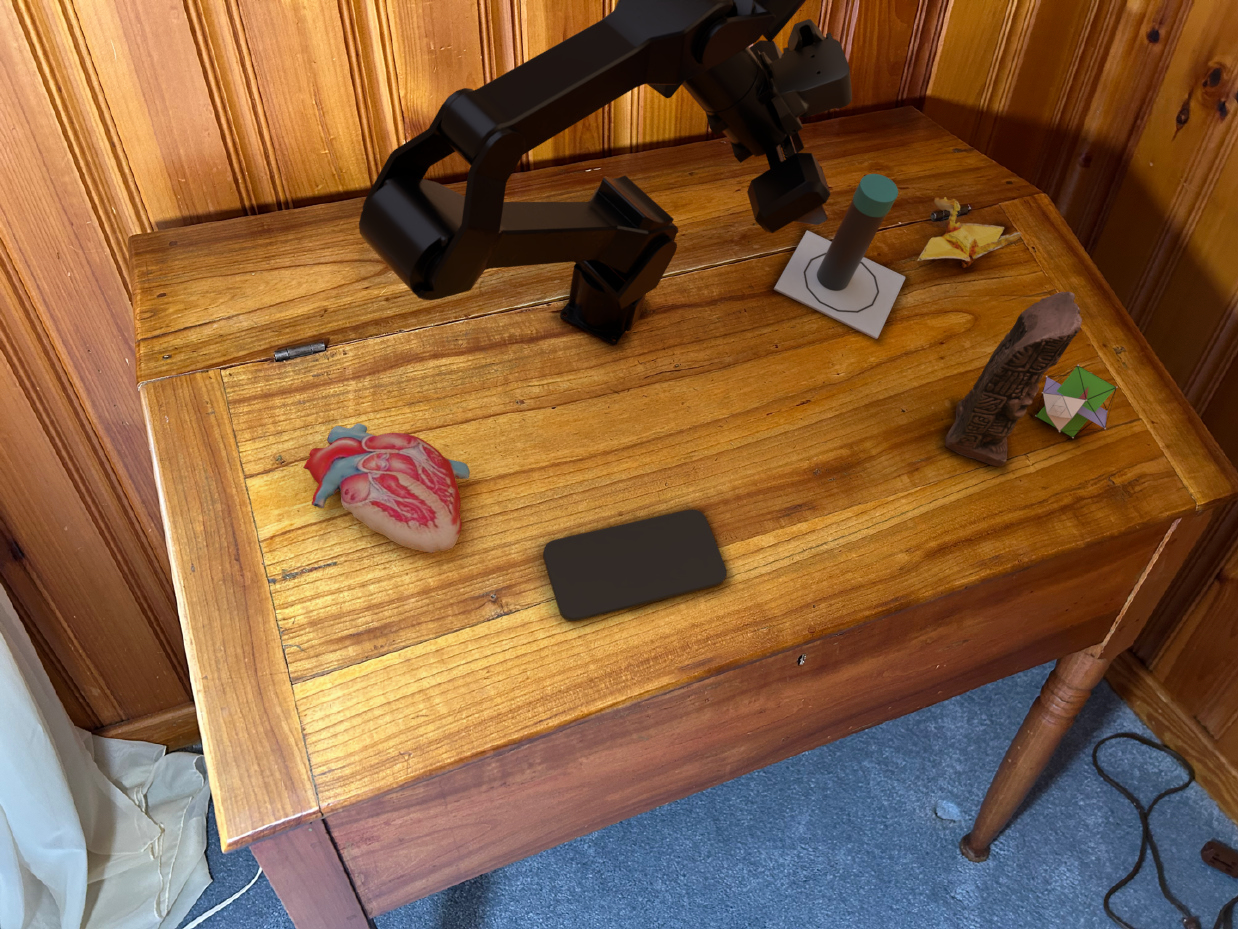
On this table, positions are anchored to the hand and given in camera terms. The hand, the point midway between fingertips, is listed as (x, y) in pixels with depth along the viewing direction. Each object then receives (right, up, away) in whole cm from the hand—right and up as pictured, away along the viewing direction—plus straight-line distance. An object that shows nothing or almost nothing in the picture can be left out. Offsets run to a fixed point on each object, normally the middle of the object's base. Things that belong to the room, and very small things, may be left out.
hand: (810, 184), depth 87 cm
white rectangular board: (+6, -7, +13) cm, 16 cm away
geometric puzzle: (+27, -22, +8) cm, 36 cm away
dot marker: (+5, -6, +13) cm, 15 cm away
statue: (+17, -23, +6) cm, 29 cm away
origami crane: (+20, -3, +18) cm, 27 cm away
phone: (-17, -35, -7) cm, 40 cm away
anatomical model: (-38, -29, -7) cm, 48 cm away
